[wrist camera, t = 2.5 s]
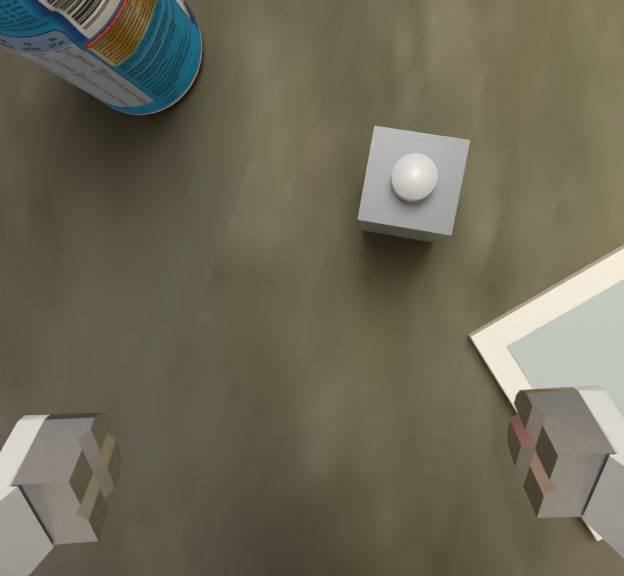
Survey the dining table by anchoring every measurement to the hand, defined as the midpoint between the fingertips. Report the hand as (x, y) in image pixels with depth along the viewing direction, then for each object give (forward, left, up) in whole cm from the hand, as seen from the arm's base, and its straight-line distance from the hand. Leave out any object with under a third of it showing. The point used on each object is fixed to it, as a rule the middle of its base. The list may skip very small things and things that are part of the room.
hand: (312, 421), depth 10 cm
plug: (+6, +4, -23) cm, 24 cm away
